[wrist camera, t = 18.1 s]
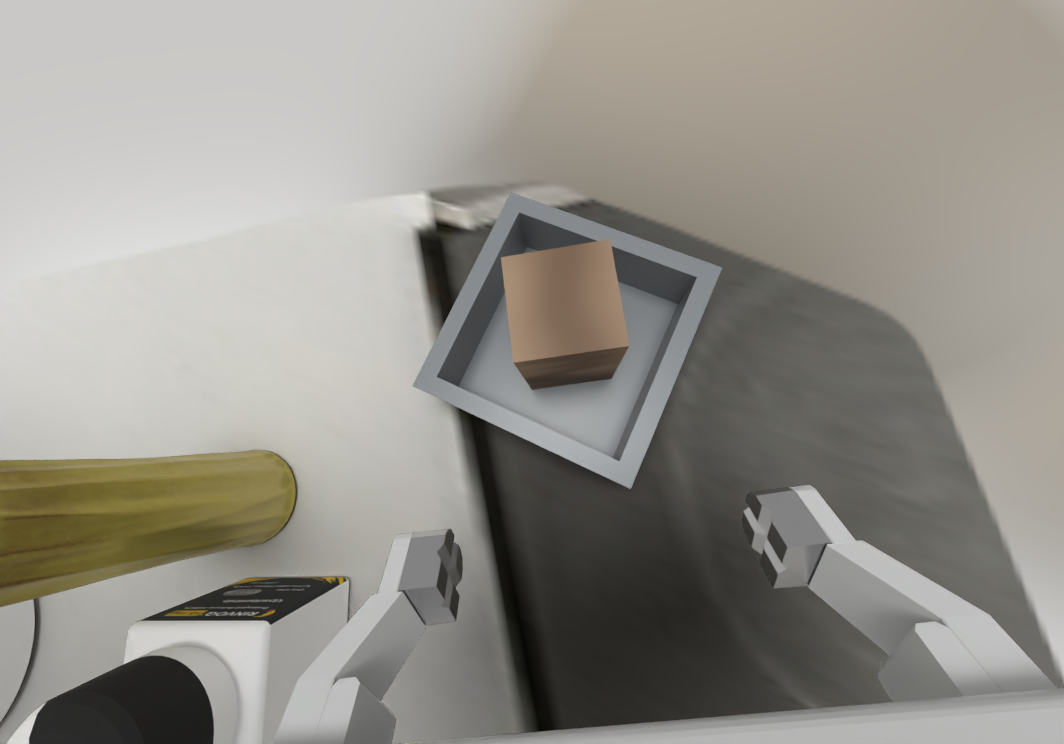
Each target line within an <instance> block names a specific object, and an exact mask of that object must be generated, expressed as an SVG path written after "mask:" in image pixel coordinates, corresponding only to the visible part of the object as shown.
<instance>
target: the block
mask: <svg viewBox="0 0 1064 744" xmlns="http://www.w3.org/2000/svg"><path fill="white" fill-rule="evenodd" d="M501 262H502V271H503V279H504V288H505V296H506V305H507V313H508V322H509V330H510V339H511V347H512V356H513V363H514V364H515V366H516V367H517V369H518V370H519V372H520V373H521V375H522V376H523V377H524V379H525V380H526V382H527V383H528V385H529V386H530V388H531V389H532V390H535V389H542V388H549V387H556V386H563V385H570V384H578V383H585V382H592V381H599V380H606V379H612V377H613V375H614V373H615V372H616V370H617V368H618V366H619V364H620V362H621V361H622V359H623V357H624V355H625V353H626V351H627V350H628V348H629V340H628V335H627V329H626V324H625V318H624V313H623V307H622V302H621V296H620V291H619V285H618V280H617V274H616V268H615V263H614V257H613V252H612V246H611V241H610V239H608V240H602V241H596V242H590V243H584V244H578V245H572V246H566V247H560V248H554V249H548V250H542V251H536V252H530V253H524V254H518V255H512V256H506V257H501Z"/></svg>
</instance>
